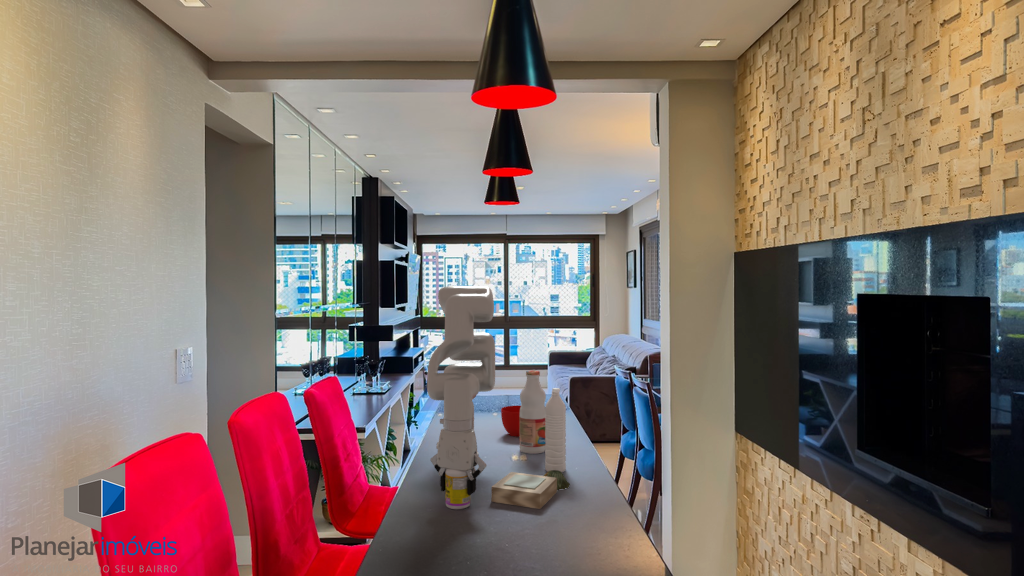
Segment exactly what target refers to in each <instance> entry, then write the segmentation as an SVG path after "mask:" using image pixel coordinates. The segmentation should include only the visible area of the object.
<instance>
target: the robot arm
mask: <svg viewBox="0 0 1024 576" xmlns="http://www.w3.org/2000/svg"><path fill="white" fill-rule="evenodd" d="M437 299H438V303H439V306H440V307H441V310H442V311H443V313H444V340H443V341H442V343H440V344H439V346H437V348H436V349H435V350H434V352H433V353H432V354H431V356H430V359H429V360H428V365H427V380H426V382H427V383H426V389H427V394H428V396H429V398H430V399H431V400H433V401H443V418H440V419H439V424H440V425H441V424H442V427H443V428H441V429H440V433H439V438H438V441H437V443H436V449H437V453H436V454H434V455H433V456H432V457H431V458H430V463H431V464H432V465H433V466H434V467H433V468H434V469H435V470H436V472H437V473H438V476H439V478H440V479H439V482H440V483H439V486H440V491H441V492H445V481H446V475H445V473H446V469H454V470H460V471H466V472H467V474H468V477H469V480H468V481H467V494H468V495H471V496H472V495H473V494H474V493H475V492H476V490H477V477H479V476H480V474H482V472H483V471H484V470H485V469H486V468H487V466H488V465H487V463H486V462H485V461H484V460H483V459H482V458H481V457H480V455H479V451H478V445H477V444H478V443H477V436H476V431H475V405H474V402H473V400H474V399H476V397H477V395H478V394H479V393H480V392H482V393H484V392H485V393H486V392H490V391H493V389H494V387H495V383H496V343H495V342H496V341H495V337H494V336H493V335H492V334H491V333H488V332H475V331H474V323H487V322H488V323H489V322H491V321H492V319H493V317H494V313H495V303H494V302H495V301H494V293H493V291H492V289H491V287H488V286H484V285H483V286H481V285H479V286H478V285H473V286H472V285H470V286H469V285H468V286H467V285H454V286H453V285H450V286H444V287H441V288H440V289H439V291H438V292H437ZM448 358H449V359H450V360H452V361H456V362H457V361H458V362H466V363H451V364H449V365H447V366H446V367H445V368H444V370H443V372H438V371H439V367H440V365H441V364H442V363H443V362H444V361H445V360H446V359H448ZM467 362H469V363H467ZM471 362H478V363H471ZM479 362H480V363H479ZM476 466H478V468H477V469H476Z"/></svg>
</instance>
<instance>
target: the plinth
mask: <svg viewBox="0 0 1024 576" xmlns="http://www.w3.org/2000/svg"><path fill="white" fill-rule="evenodd" d="M490 490H491V496H490V497H491V499H490V500H491V502H493V503H496V504H505V505H512V506H519V507H525V508H531V509H538V510H541V509H542V508H543V507H544V506H545V505H546V504H547V503H548V502H549V501H550V500H551V499H552V498H553V497H554V496H555V495H556V494H557V492H558V490H557V478H555V477H547V476H543V475H540V474H539V475H538V474H531V473H524V472H515V471H510V472H509V473H508V474H507V475H505V476H504V477H502V478H501V479H500V480H498V481H497V482H496V483H494V484H493V485H492V486H491V488H490Z"/></svg>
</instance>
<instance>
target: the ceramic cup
mask: <svg viewBox="0 0 1024 576" xmlns="http://www.w3.org/2000/svg"><path fill="white" fill-rule="evenodd" d="M520 407H521V405H508V406H503V407H501V410H500V415H501V417H500V418H501V423H502V426H503V428H504V430H505V431H506V432H507V434H508V435H509V436H511V437H519V438H520Z"/></svg>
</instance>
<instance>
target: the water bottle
mask: <svg viewBox="0 0 1024 576" xmlns="http://www.w3.org/2000/svg"><path fill="white" fill-rule="evenodd" d="M560 392H561V389H560V388H558V387H553V388H551V397H550V398H549V399H548V400H547V402H546V403H545V413H546V414H545V416H546V417H545V421H546V422H545V426H546V427H545V429H546V430H545V437H546V438H545V443H546V444H545V449H546V450H545V456H544V459H545V462H544V469H545V471H547V472H548V471H551V470H558V471H561V472H562V473H563V472H566V469H567V465H566V461H567V460H566V458H567V457H566V455H567V453H566V451H567V448H566V445H567V444H566V442H567V439H566V436H567V432H566V431H567V428H566V427H567V422H566V421H567V419H566V418H567V417H566V414H567V408H566V404H565V402H564V400H563V399H562V397H561V394H560Z"/></svg>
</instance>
